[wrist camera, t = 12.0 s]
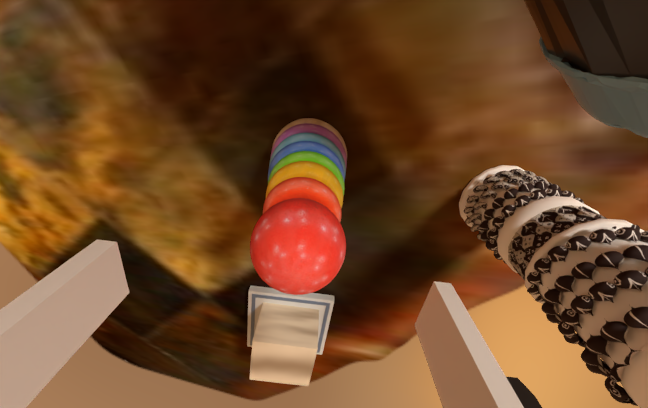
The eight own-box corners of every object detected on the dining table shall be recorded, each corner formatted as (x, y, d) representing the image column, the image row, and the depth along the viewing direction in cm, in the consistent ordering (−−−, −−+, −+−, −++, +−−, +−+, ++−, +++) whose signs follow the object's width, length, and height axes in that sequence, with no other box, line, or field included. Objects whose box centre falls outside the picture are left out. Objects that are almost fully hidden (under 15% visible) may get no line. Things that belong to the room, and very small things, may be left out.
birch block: (263, 302, 37) (252, 341, 32) (319, 309, 38) (317, 349, 32) (259, 338, 41) (249, 379, 35) (310, 345, 41) (308, 386, 36)
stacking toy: (276, 188, 30) (212, 331, 14) (270, 116, 27) (174, 190, 10) (345, 189, 30) (365, 334, 14) (348, 117, 27) (382, 193, 10)
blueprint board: (250, 285, 37) (248, 291, 36) (334, 295, 38) (334, 301, 37) (248, 340, 42) (246, 347, 42) (322, 348, 43) (322, 355, 42)
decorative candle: (438, 205, 31) (718, 548, 9) (505, 144, 28) (1243, 446, 5) (486, 245, 33) (803, 593, 11) (554, 193, 30) (1203, 541, 8)
